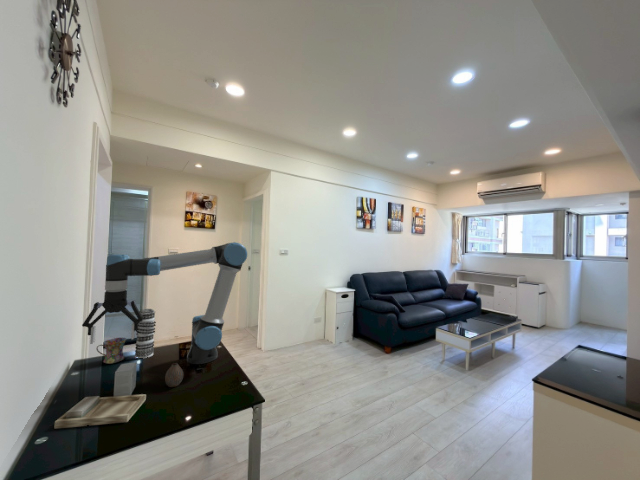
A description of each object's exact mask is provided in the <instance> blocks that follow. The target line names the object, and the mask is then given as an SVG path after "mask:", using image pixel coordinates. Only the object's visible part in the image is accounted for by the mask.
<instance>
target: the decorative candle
mask: <svg viewBox="0 0 640 480" xmlns="http://www.w3.org/2000/svg"><path fill="white" fill-rule="evenodd" d="M139 312H140V313H141V315H142V317H143V320H142V321H141V322H139V323H138V329H137V331H135V333H136V334H135V336H136V343H135V350H134V352H135V353H134V355H135V356H134V358H135V357H138V358H143V359H147V357H148V358H150V357H152V356H153V355H154V352H155V351H154V350H155V347H154V346H155V344H154V343H155V340H154V334H155V333H156V328H155V327H156V323H157V321H155V319H156V317H155V313H156V311H155V310H154V309H153V308H144V309H141V310H139Z"/></svg>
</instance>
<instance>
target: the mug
mask: <svg viewBox="0 0 640 480" xmlns="http://www.w3.org/2000/svg"><path fill="white" fill-rule="evenodd" d="M126 341H127V337H113V338H108V339H107V340H104V341H103V344H98V346H96V351H97V352H98V353H99V354H100V355H103V358H104V359H103V361H102V362H103V363H105V364H110V365H111V364H117V363H119V362H121V361H123V360H125V356H124V352H123V351H124V346H125V343H126ZM100 346H101V347H103V348H104V349H105V353H102V352H100V351H99V349H98V348H99V347H100ZM112 354H115V355H112Z"/></svg>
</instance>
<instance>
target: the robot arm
mask: <svg viewBox="0 0 640 480" xmlns="http://www.w3.org/2000/svg"><path fill="white" fill-rule="evenodd" d="M247 258H248V250H247V248H246V246H245V245H243V244H242V243H239V242H235V241H233V242H228V243H225V244H222V245H216V246H212V247H211V248H207V249H203V250H202V249H201V250H196V251H195V250H193V251H186V252H180V253H174V254H167V255H166V254H165V255H158V256H152V257H143V258H130V256H129V254H119V253H118V254H115V253H114V254H109V255H107V258H106V265H105V282H104V283H105V285H104V290H105V292H104V296H103V299H104V300H103V302H99V301H96V302H95V303H94V304H93V308H92V310H91V311H90V312H89V314H88V315H87V317H86V318H85V320H84V321H83V323H82V325H81V326H82V327H84V328H87V335H88V336H90V341H89V343H90V345H93V344H94V343H95V341H96V330H97V329H96V326H97V325H95V324H96V323H97V322H99V320H101V318H103V317H104V316H105V315H106V314H107V313H109V314H111V313H120V312H121V313H123V314H124V315H126V317H127V318H128V319H129V320H130V321H132V323H131V335H130V337H131V338H130V339H131V340H134V339H135V336H136V334H135V333H136V331H137V329H138V323H139V322H141V321H142V320H143V317H142V315H141V313H140V310H139V308H138V306H137V304H136V300H135V299H133V300H131V301H130V300H129V301H128V300H127V297H128V290H127V289H128V281H129V280H128V278H129V277H132V276H133V277H143V276H144V277H147V276H149V277H152V276H153V277H154V276H158V275H160V274H161V272H164V271H169V270H176V269H181V268H182V269H183V268H186V267H194V266H200V265H206V264H210V263H211V264H217V265H218V267H219V271H218V274H217V277H216V280H215V283H214V287H213V289H212V292H211V295H210V299H209V301H208V304H207V307H206V311H205V313H204V314H201V315H200V314H199V315H195V316H193V318H192V322H191V326H192V327H191V343H190V348H189V350H188V353H187V355H186V362H187V363H189V364H190V365H191V364H192V365H202V364H204V365H205V364H208V363H210V362H213V361H215V360H217V358H218V349H217V346H219V344H220V343H221V341H222V339H223V331H222V330H223V327H224V324H225V320H224V319H223V317H224V314H225V310H226V308H227V305H228V302H229V299H230V295H231V292H232V289H233V286H234V282H235V279H236V276H237V273H238V272H240V271H241V269H242V267H243V265H244V263H245V262H246V260H248V259H247ZM126 306H129V307H131V309H132V311H133V313H134V314H135V315H134V314H133V313H132V312H131V311H129V309H128V308H127V307H126ZM101 307H102V308H104V310H103V311H102V312H100V313H99V315H97V317H95V318H94V320H92V318H93V317H94V316H95V315H96V313H97V312H98V309H101ZM91 320H92V322H90V321H91Z"/></svg>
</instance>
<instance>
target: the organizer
mask: <svg viewBox="0 0 640 480" xmlns="http://www.w3.org/2000/svg"><path fill="white" fill-rule="evenodd" d="M146 399H147V394H143V393H141V394H131V395H128V396H115V397H114V396H104V397H100V395H95V396H85V397H84V398H83V399H82V400H80V401H79V402H78V403H76V404H75V405H74V406H73V407H71V408H70V409H69V410H68V411H66V412H65V413H64V414H63V415H61V416H60V417H59V418H57V420H55V421H54V429H64V428H65V429H66V428H76V427H77V428H78V427H87V425H89V426H98V425H99V426H100V425H108V424H109V425H111V424H120V423H121V424H122V423H128V422H129V420H131V418H132V417H133V416H134V415H135V414H136V412H137V411H138V410H139V409H140V407H141V406H142V405H143V404H144V403H145V402H146Z"/></svg>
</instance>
